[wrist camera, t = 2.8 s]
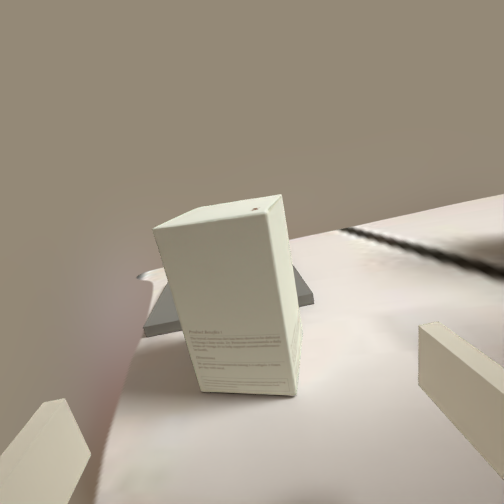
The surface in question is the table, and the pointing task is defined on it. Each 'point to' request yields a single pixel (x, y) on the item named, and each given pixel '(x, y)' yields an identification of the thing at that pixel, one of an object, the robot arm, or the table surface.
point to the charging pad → (167, 316)
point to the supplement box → (235, 295)
